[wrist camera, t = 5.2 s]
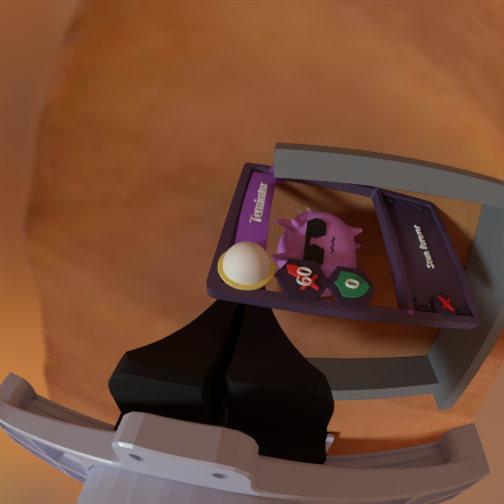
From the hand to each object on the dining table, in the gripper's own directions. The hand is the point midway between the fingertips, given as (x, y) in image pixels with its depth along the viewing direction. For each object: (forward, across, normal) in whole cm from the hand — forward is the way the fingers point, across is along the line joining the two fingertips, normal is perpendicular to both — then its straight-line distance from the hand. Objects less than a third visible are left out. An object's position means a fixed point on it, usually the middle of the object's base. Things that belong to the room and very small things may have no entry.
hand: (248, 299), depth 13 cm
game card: (+2, -4, -3) cm, 5 cm away
